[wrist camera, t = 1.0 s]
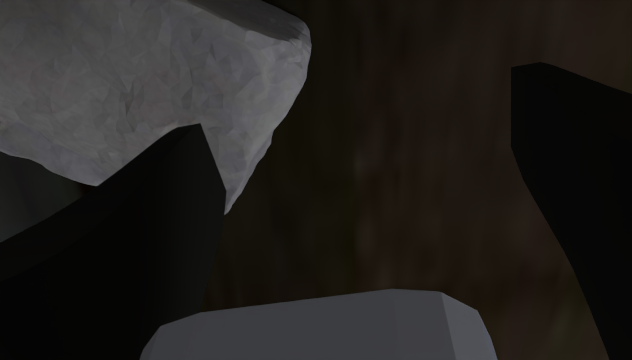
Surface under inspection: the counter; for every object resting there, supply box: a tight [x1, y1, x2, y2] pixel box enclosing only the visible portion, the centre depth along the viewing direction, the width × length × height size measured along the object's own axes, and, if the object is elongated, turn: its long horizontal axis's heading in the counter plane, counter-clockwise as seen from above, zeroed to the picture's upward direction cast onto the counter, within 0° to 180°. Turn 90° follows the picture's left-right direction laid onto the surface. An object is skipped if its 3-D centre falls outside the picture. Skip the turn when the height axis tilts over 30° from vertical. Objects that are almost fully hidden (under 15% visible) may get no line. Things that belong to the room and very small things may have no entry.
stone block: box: [0, 0, 311, 215], centre depth 20 cm, size 12×5×10 cm
